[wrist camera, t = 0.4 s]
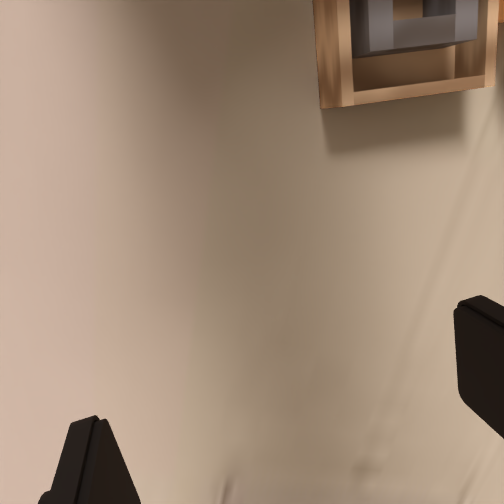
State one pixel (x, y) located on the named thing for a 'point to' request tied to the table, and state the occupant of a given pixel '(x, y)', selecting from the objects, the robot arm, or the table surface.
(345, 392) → the table surface
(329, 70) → the oak box
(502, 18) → the block
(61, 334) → the table surface
